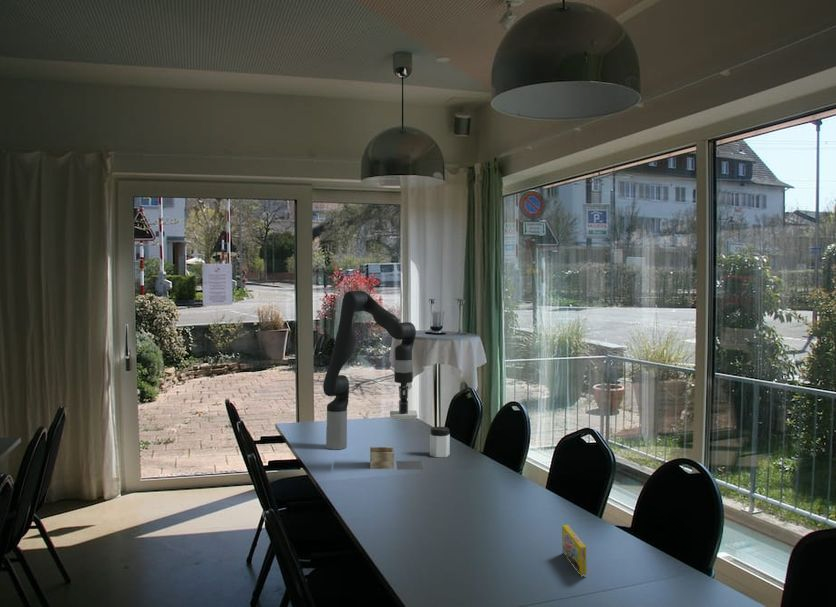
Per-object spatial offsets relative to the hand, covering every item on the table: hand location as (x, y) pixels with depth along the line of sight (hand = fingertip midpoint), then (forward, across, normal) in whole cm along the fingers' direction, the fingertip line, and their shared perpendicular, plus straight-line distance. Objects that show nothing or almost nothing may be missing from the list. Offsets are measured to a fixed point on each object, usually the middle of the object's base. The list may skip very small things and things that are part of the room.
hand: (403, 412), depth 287 cm
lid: (+2, 0, 0) cm, 2 cm away
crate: (+23, -1, -9) cm, 25 cm away
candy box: (+25, +100, +43) cm, 112 cm away
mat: (+23, -1, +2) cm, 23 cm away
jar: (+23, -19, +17) cm, 34 cm away
